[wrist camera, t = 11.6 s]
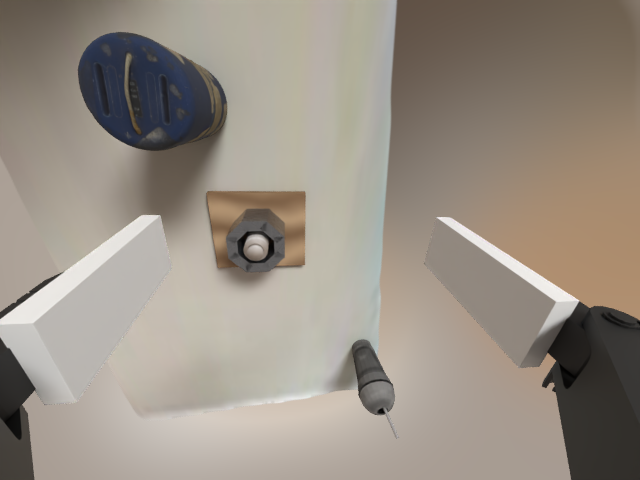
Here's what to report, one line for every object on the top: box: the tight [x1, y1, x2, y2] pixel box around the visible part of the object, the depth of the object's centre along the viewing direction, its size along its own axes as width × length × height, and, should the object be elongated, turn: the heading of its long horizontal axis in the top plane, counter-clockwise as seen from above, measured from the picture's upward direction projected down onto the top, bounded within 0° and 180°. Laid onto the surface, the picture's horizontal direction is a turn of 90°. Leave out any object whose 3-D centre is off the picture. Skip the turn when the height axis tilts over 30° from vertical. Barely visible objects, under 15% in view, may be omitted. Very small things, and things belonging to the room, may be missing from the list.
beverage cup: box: [352, 340, 399, 438], centre depth 54 cm, size 7×7×20 cm
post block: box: [206, 191, 305, 268], centre depth 43 cm, size 14×16×9 cm
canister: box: [78, 32, 227, 151], centre depth 30 cm, size 10×10×18 cm
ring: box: [226, 209, 285, 272], centre depth 44 cm, size 9×9×6 cm
